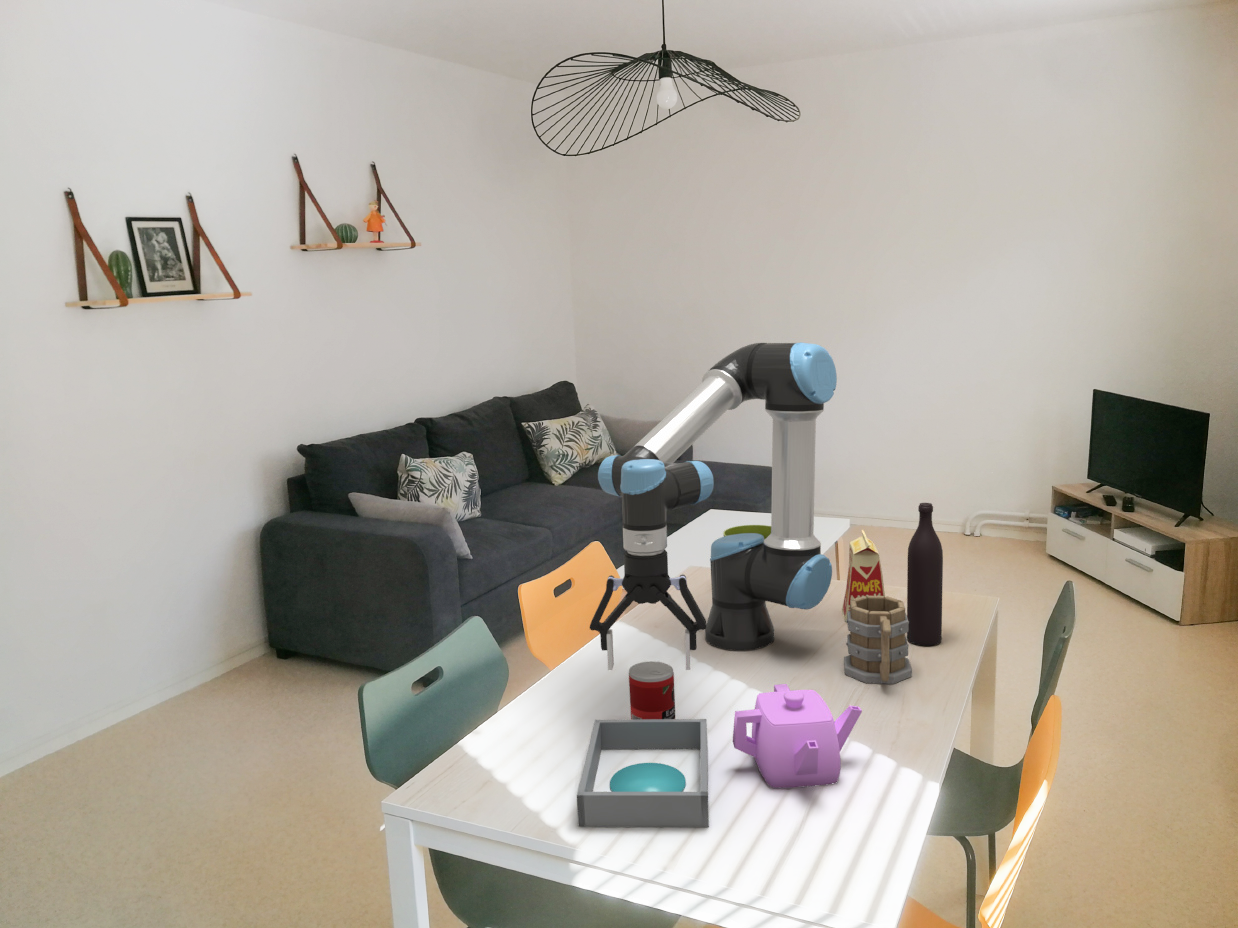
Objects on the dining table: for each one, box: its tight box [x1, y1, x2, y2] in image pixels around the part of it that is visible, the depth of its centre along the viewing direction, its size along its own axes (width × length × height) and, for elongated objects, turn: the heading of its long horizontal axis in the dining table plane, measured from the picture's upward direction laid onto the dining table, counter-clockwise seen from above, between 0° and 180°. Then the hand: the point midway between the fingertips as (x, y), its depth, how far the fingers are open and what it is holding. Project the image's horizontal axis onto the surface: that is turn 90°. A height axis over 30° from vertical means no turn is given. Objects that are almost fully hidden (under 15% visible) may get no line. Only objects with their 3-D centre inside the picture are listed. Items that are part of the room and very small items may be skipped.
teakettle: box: [732, 683, 863, 789], centre depth 149 cm, size 17×17×12 cm
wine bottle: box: [906, 502, 944, 647], centre depth 196 cm, size 7×7×30 cm
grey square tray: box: [576, 718, 710, 828], centre depth 147 cm, size 24×19×5 cm
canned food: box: [628, 661, 676, 720], centre depth 165 cm, size 8×8×11 cm
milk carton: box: [841, 529, 886, 623], centre depth 213 cm, size 9×9×20 cm
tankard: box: [843, 595, 913, 685], centre depth 180 cm, size 20×13×15 cm, turn 169°
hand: (649, 667), depth 164 cm, fingers open, 13 cm apart
